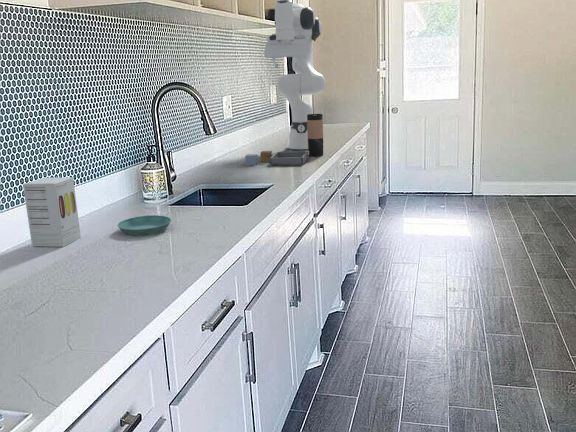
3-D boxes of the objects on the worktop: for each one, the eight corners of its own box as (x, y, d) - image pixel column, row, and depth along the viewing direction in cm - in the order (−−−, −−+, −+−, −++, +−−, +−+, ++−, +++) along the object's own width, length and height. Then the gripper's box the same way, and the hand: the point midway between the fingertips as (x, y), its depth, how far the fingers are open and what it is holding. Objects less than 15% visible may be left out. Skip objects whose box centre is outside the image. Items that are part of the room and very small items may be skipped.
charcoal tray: (277, 159, 281) (277, 151, 280) (308, 158, 279) (308, 151, 278) (270, 165, 263) (269, 158, 262) (303, 165, 261) (302, 157, 260)
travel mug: (324, 154, 291) (323, 113, 286) (323, 156, 283) (322, 114, 279) (308, 154, 292) (307, 114, 287) (307, 157, 284) (306, 115, 279)
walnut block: (262, 160, 280) (262, 151, 279) (272, 160, 280) (271, 150, 279) (260, 161, 276) (260, 152, 275) (270, 161, 275) (269, 152, 274)
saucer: (112, 230, 168) (111, 221, 167) (161, 221, 175) (160, 212, 174) (127, 241, 155) (126, 232, 155) (179, 231, 163) (179, 222, 162)
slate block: (247, 164, 272) (247, 154, 271) (257, 163, 271) (256, 154, 270) (245, 165, 267) (245, 155, 266) (255, 165, 267) (254, 155, 265)
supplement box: (63, 247, 152) (54, 183, 147) (31, 247, 153) (21, 183, 149) (82, 236, 161) (73, 176, 157) (51, 236, 162) (42, 176, 158)
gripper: (307, 36, 275) (308, 66, 278) (263, 37, 274) (264, 68, 277) (308, 35, 269) (309, 66, 272) (263, 37, 268) (265, 68, 271)
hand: (286, 67), depth 275 cm, fingers open, 8 cm apart
